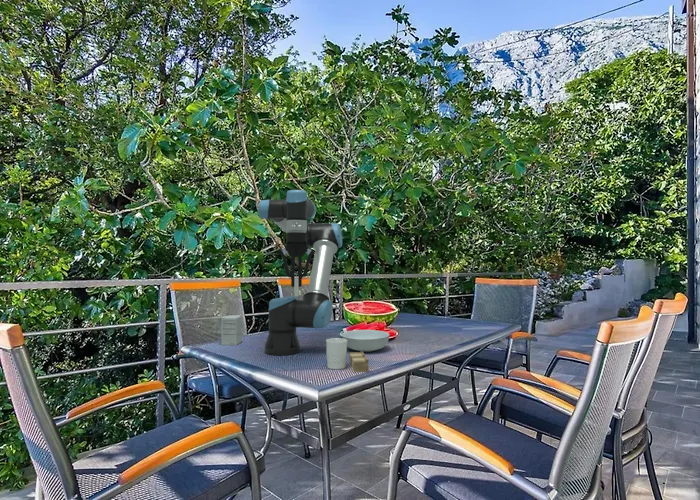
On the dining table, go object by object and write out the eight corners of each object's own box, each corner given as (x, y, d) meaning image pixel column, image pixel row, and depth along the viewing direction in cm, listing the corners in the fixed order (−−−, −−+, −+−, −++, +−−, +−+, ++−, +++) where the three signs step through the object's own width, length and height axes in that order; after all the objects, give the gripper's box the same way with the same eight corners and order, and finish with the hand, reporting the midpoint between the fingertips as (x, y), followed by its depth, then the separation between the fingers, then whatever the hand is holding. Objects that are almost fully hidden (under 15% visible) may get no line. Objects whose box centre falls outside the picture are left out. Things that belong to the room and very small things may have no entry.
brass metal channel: (349, 361, 167) (349, 350, 167) (362, 361, 167) (362, 350, 167) (354, 372, 152) (354, 360, 152) (368, 371, 152) (368, 360, 152)
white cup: (322, 365, 160) (322, 339, 160) (341, 363, 164) (341, 337, 164) (331, 371, 153) (331, 343, 153) (350, 368, 157) (351, 341, 157)
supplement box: (227, 342, 203) (227, 315, 203) (242, 342, 202) (242, 315, 202) (220, 345, 195) (220, 317, 195) (236, 345, 194) (236, 317, 195)
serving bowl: (337, 345, 196) (337, 330, 196) (381, 343, 200) (381, 328, 200) (347, 356, 175) (347, 339, 175) (395, 353, 180) (396, 337, 180)
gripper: (278, 231, 154) (278, 297, 154) (314, 231, 156) (314, 296, 156) (279, 232, 162) (279, 294, 161) (313, 232, 163) (313, 294, 163)
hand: (296, 295), depth 159 cm, fingers closed
